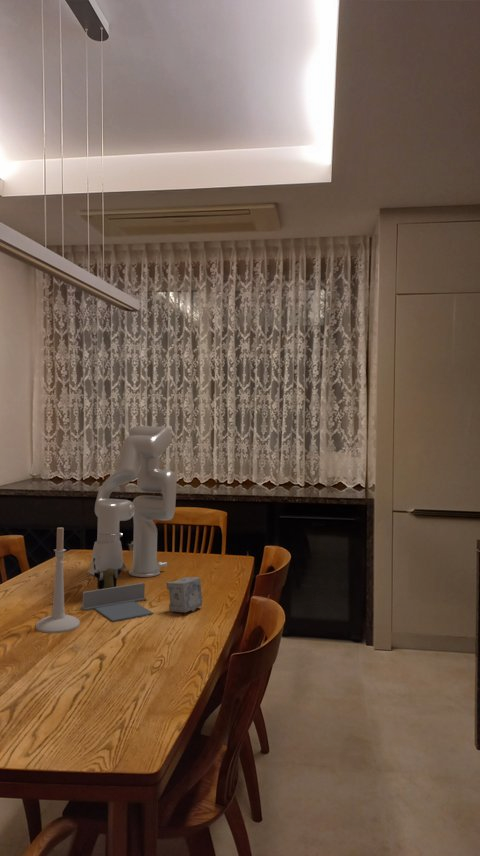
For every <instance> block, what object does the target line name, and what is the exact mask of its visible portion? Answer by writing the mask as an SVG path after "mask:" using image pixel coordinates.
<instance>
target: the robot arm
mask: <svg viewBox="0 0 480 856" xmlns="http://www.w3.org/2000/svg"><path fill="white" fill-rule="evenodd" d="M172 439H173V436H172V430H170V428H168V427H166V426H151V425H136V426H133V427H131V428H130V429H129V432H128V436H126V437H125V439H124V440H123V443H122V447H121V451H120V454H119V459H118V463H117V465H116V466H117V467H116V470H115V471H114V472H113V473H112V474H111V475H109V476H108V478H106V479H105V481H103V483H102V484H101V486H100V487H99V490H98V492H97V496H96V499H95V504H94V514H95V516H96V517H97V529H96V530H97V534H96V535H97V538H96V540H95V541H94V544H93V547H92V555H91V566H90V568H89V569H88V571H87V572H88V573H89V574H90V575H92V576H94V577H95V578H96V579H97V590H99V589H104V580H103V571H106V570H107V569H110V568H112V569H114V570H115V573H114V575H113V578H114V579H113V580H114V587H117V582H118V581H117V579H118V578H119V576H120V574H121V573H122V572H124V570H125V569H127V566H126V564H125V563H124V560H123V559H124V558H123V557H124V556H123V547H122V541H121V538H122V537H123V533H122V532H120V522H121V521H122V522H125V521H129V520H131V519H132V520H133V543H132V544H133V545H132V546H133V550H132V568H130V569H128V574H129V575H130V576H132V577H135V578H139V577H140V578H150V577H151V578H152V577H156V576H159V575H161V574H160V573H161V568H164V567H165V568H166V567H168V563H167V562H168V561H164V562H163V561H158V560H157V559H158V558H157V556H158V552H157V551H158V528H157V526H156V524H155V522H154V521H165V522H166V521H171V520H172V519H173V518H174V516H175V512H176V502H177V501H176V500H177V477H176V474H175V472H174V471H173V470H170V469H160V456H161V455H162V454H163V453H164V452H165V451H166V450H167V449H169V447H170V445H171V442H172ZM136 479H137V480H136ZM135 480H136V482H137V483H136V485H137V489H138V490H139V491H140V492H143V493H155V494H156V493H157V494H161V495H162V496H159V495H139V496H136V497H135V498H134V499H133V500H132V501H131V500H128V499H123V498H122V499H121V498H110V496H111V494H112V492H113V491H114V490H115V489H117V488H119V487H121V486H123V485H125V484H128V483H129V482H132V481H135Z"/></svg>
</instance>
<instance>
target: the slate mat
mask: <svg viewBox="0 0 480 856" xmlns="http://www.w3.org/2000/svg"><path fill="white" fill-rule="evenodd" d="M94 610H95V612H97V613H99V614H100V615H102V616H103V617H104V618H106V619H107V620H109V621H110V622H112V623H117V622H120V621H126V620H127V621H128V620H132V619H131V618H133V619H137V618H136V617H138V618H141V617H142V616H143V617H147V615H148V616H152V614H153V615H154V612H153V611H151V610H149V609H148V608H146V607H144V606H142V605H141V604H139V602H134V601H133V602H127V603H121V604H116V605H110V606H104V607H98V608H95V609H94Z"/></svg>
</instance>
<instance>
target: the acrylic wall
mask: <svg viewBox="0 0 480 856" xmlns="http://www.w3.org/2000/svg"><path fill="white" fill-rule="evenodd" d="M145 585H146V584H145V582H139V583H132V584H126V585H119V586H116V587H112V588H105V589H93V590H87V591H83V592H82V605H81V606H80V609H82V610H83V611H85V612H87V611H94V610H95V608H98V607H104V606H110V605H116V604H121V603H127V602H133V601H134V602H136V603H140V602H145V601H147V598H146V597H145V590H146V589H145ZM144 600H145V601H144ZM139 601H140V602H139Z"/></svg>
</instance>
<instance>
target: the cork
mask: <svg viewBox="0 0 480 856" xmlns="http://www.w3.org/2000/svg"><path fill="white" fill-rule="evenodd" d="M114 573H115V570H114V569H112V568H110V569H107V570H106V571H103V580H104V589H105V588H112V587H114V580H113V579H114V578H113V575H114Z"/></svg>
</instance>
